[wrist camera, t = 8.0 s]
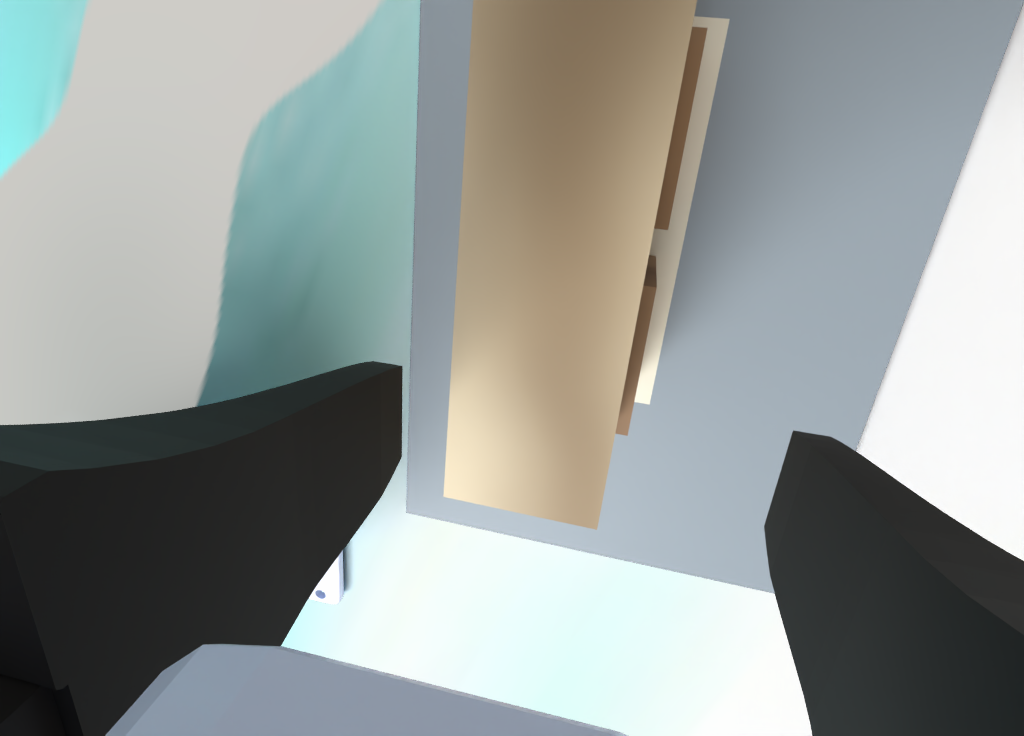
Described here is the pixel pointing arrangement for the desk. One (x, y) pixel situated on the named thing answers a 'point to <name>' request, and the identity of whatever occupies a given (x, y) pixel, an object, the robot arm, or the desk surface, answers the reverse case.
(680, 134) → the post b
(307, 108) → the desk surface
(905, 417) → the desk surface
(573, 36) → the tan rectangular block
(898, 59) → the board
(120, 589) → the robot arm
